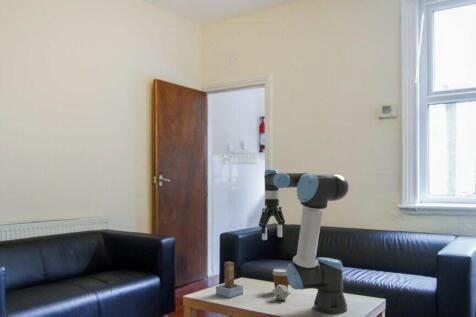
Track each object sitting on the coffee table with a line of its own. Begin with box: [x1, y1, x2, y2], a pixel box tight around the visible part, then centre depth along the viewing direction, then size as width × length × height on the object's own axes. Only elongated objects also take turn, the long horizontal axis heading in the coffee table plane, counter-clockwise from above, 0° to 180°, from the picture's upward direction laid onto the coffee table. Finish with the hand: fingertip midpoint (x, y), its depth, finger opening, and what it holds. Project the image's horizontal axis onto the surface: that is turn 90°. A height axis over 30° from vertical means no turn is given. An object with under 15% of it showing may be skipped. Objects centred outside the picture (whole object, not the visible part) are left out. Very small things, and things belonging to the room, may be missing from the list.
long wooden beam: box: [223, 261, 235, 289], centre depth 235 cm, size 4×4×16 cm
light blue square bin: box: [215, 283, 244, 299], centre depth 235 cm, size 10×10×4 cm
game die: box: [271, 283, 292, 302], centre depth 224 cm, size 9×8×10 cm
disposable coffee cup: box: [272, 268, 289, 290], centre depth 238 cm, size 10×10×12 cm
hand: (272, 238), depth 240 cm, fingers open, 13 cm apart
